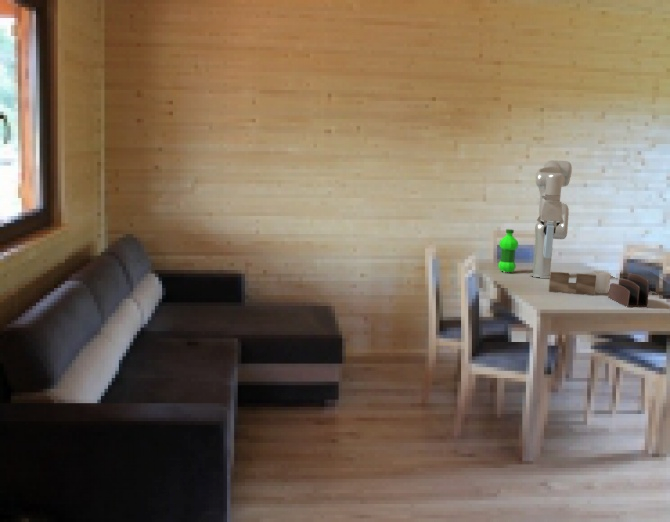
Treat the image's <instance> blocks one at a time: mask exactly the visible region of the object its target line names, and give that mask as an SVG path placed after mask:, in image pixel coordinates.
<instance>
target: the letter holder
mask: <svg viewBox="0 0 670 522" xmlns="http://www.w3.org/2000/svg"><path fill="white" fill-rule="evenodd" d="M649 289H650V280H649V279H647V278H646V277H644V276H643V275H640V274H638V273H634V272H633V273H632V272H628V275H627V278H619V279H618V283H614V282H612V283H611V282H610V283H609V291H608V297H607V298H608V299H609V298H610V300H611V299H612V300H611V301H613V300H614V302H615V301H616V303H617V302H618V303H617V304H619V305H622V306H624V307H626V306H627V307H626V308H633V307H647V308H648V305H649V303H648V302H649V292H650V290H649Z"/></svg>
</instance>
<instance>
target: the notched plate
mask: <svg viewBox="0 0 670 522" xmlns="http://www.w3.org/2000/svg"><path fill="white" fill-rule="evenodd" d="M546 226H547V231H546V235H545V237H544V248H543V255H544V257H545V258H551V255H552V256H553V242H554V241H553V240H554V239H553V234H554V226H553V225H552V224H548V223H547V224H546ZM551 259H552V258H551Z"/></svg>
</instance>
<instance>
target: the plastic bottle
mask: <svg viewBox="0 0 670 522" xmlns="http://www.w3.org/2000/svg"><path fill="white" fill-rule="evenodd" d="M514 231H515V230H514V229H509V228H507V229H506V230H505V233H506V235H505V236H504V237H502V238H501V239H500V241H499V247H500V261H499V262H498V270H500V271H501V272H502V271H505V272H511V273H513V272H514V271H515V269H516V267H517V266H516V263H515V261H516V260H515V257H516V250H517V249H518V247H519V242H518V240H517V239H516V238H515V237H514V236H513V234H514Z"/></svg>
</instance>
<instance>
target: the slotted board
mask: <svg viewBox="0 0 670 522" xmlns="http://www.w3.org/2000/svg"><path fill="white" fill-rule="evenodd" d="M595 284H596V275H593V274H592V273H591V274H590V273H589V274H588V273H576V278H575V282H570V273H569V272H562V271H559V272H558V271H550V278H549V283H548V292H549V293H558V292H562V294H571V293H573V294H574V295H584V294H587V295H586V296H595V295H596V294H595V293H596V292H595Z"/></svg>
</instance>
